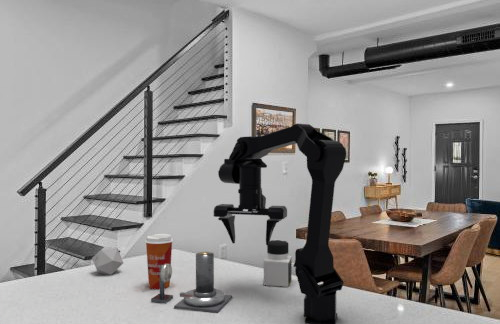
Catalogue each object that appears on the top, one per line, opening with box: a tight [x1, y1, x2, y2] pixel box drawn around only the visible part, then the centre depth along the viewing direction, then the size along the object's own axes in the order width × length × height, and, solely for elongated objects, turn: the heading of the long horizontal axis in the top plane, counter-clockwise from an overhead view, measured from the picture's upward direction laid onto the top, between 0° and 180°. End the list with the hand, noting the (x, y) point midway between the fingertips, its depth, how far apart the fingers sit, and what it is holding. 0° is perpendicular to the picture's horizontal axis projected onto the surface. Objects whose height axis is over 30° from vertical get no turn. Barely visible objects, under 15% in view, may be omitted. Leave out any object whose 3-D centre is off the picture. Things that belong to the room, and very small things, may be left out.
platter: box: [179, 288, 226, 306], centre depth 105 cm, size 11×10×1 cm
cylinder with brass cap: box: [193, 251, 217, 298], centre depth 104 cm, size 6×6×10 cm
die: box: [91, 246, 124, 276], centre depth 132 cm, size 8×9×10 cm
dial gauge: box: [150, 264, 174, 304], centre depth 107 cm, size 4×4×9 cm
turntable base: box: [173, 294, 234, 314], centre depth 105 cm, size 11×11×1 cm
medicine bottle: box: [263, 239, 293, 288], centre depth 121 cm, size 7×7×12 cm
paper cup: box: [144, 233, 174, 290], centre depth 118 cm, size 8×8×14 cm
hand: (250, 244), depth 112 cm, fingers open, 9 cm apart
